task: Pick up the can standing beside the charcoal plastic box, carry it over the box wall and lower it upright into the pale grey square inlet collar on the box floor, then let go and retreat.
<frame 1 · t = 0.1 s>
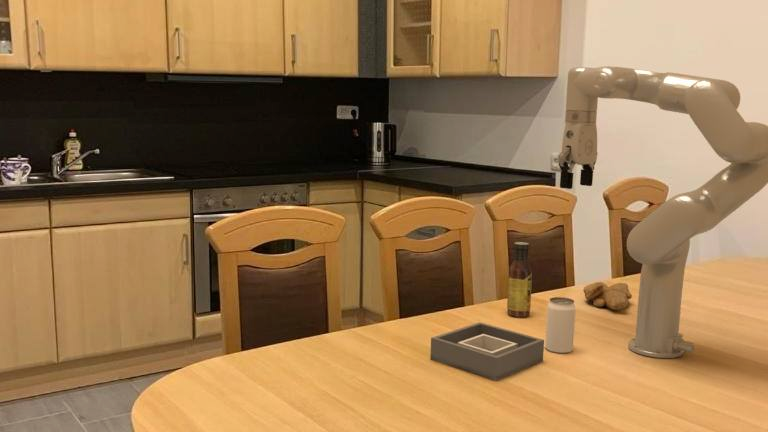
hand: (576, 186, 198), 37 cm above the table, tool pointing down, fingers open, 9 cm apart
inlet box: (486, 360, 177), on the table
can: (558, 350, 186), on the table
sauce bottle: (518, 315, 214), on the table
ginger root: (605, 306, 227), on the table
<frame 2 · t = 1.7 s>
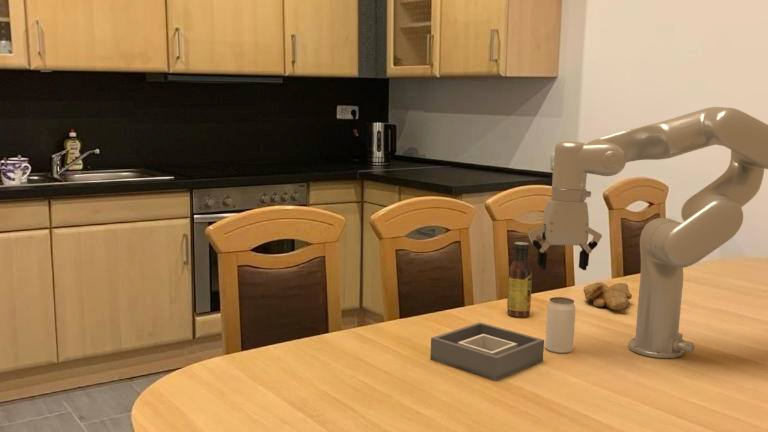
hand: (562, 268, 183), 20 cm above the table, tool pointing down, fingers open, 9 cm apart
nothing on the table moved.
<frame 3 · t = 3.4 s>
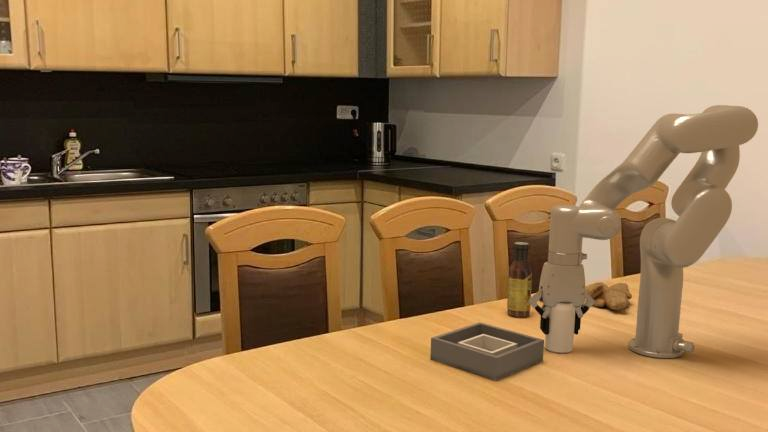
hand: (559, 332, 185), 4 cm above the table, tool pointing down, fingers closed on can, 6 cm apart
can: (558, 350, 186), on the table, touching gripper
everything else where it was.
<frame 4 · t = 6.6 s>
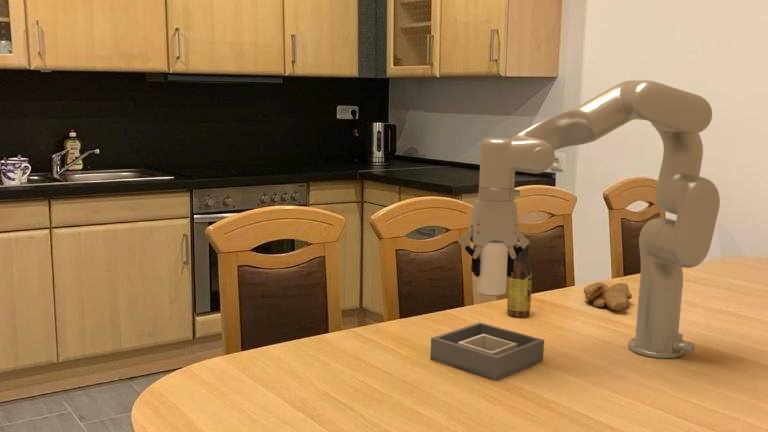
hand: (492, 274, 174), 20 cm above the table, tool pointing down, fingers closed on can, 6 cm apart
can: (491, 293, 175), point 15 cm above the table, touching gripper
everything else where it was.
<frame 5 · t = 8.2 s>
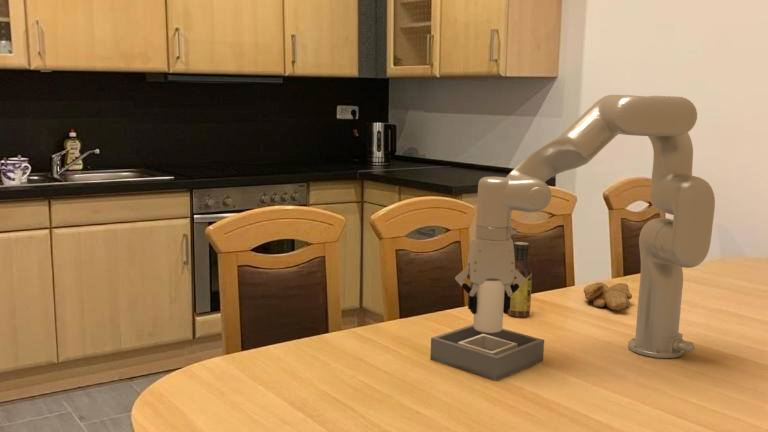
hand: (488, 311, 175), 11 cm above the table, tool pointing down, fingers closed on can, 6 cm apart
can: (487, 330, 176), point 7 cm above the table, touching gripper
everything else where it was.
when the fingers open (6 cm above the table, at t = 9.7 s): can stays where it is, resting on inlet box.
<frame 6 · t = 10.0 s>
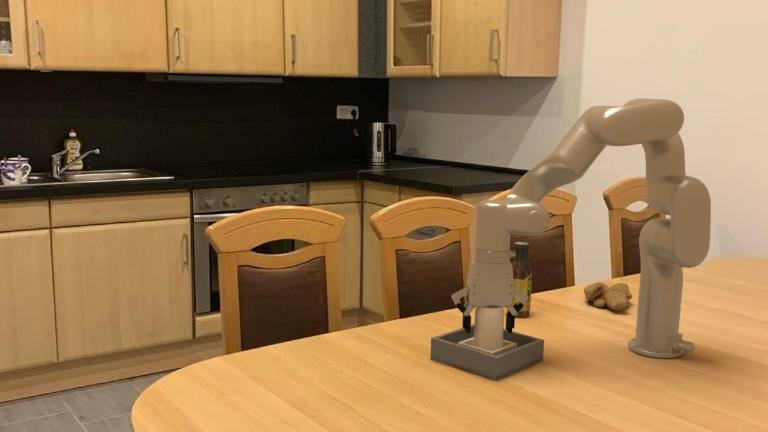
hand: (488, 331, 176), 7 cm above the table, tool pointing down, fingers open, 9 cm apart
can: (487, 356, 177), point 1 cm above the table, touching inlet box
everything else where it was.
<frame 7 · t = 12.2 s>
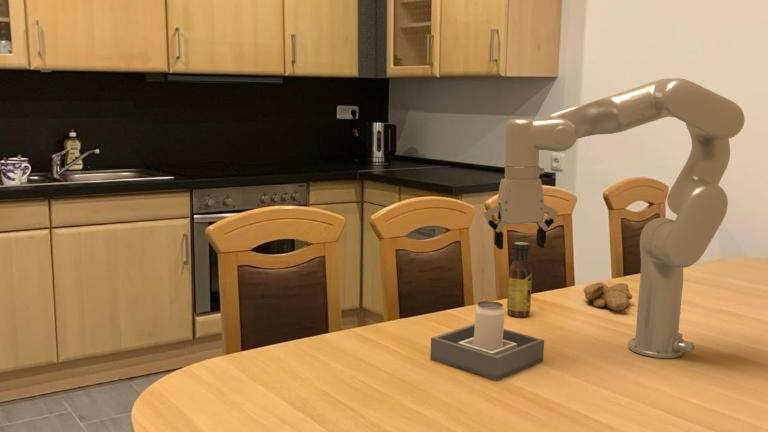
hand: (519, 247, 181), 24 cm above the table, tool pointing down, fingers open, 9 cm apart
nothing on the table moved.
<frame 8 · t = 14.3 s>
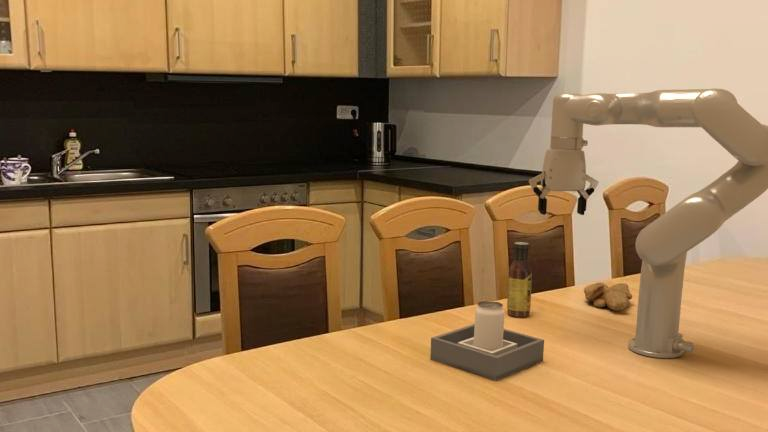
hand: (561, 214, 195), 30 cm above the table, tool pointing down, fingers open, 9 cm apart
nothing on the table moved.
at the end: can 0.2 cm off-centre on the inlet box, point 0.8 cm above the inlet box's base; can tilted 0°; the gripper is holding nothing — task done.
